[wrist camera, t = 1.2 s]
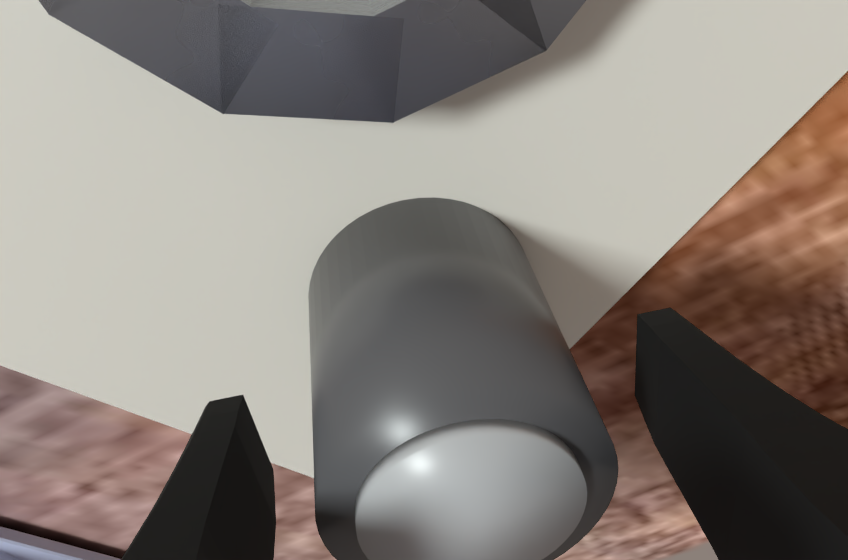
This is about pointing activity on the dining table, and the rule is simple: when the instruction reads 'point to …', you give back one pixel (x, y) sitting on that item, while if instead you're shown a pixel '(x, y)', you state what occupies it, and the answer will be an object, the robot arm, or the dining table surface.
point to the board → (359, 191)
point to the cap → (446, 395)
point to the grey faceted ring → (320, 49)
